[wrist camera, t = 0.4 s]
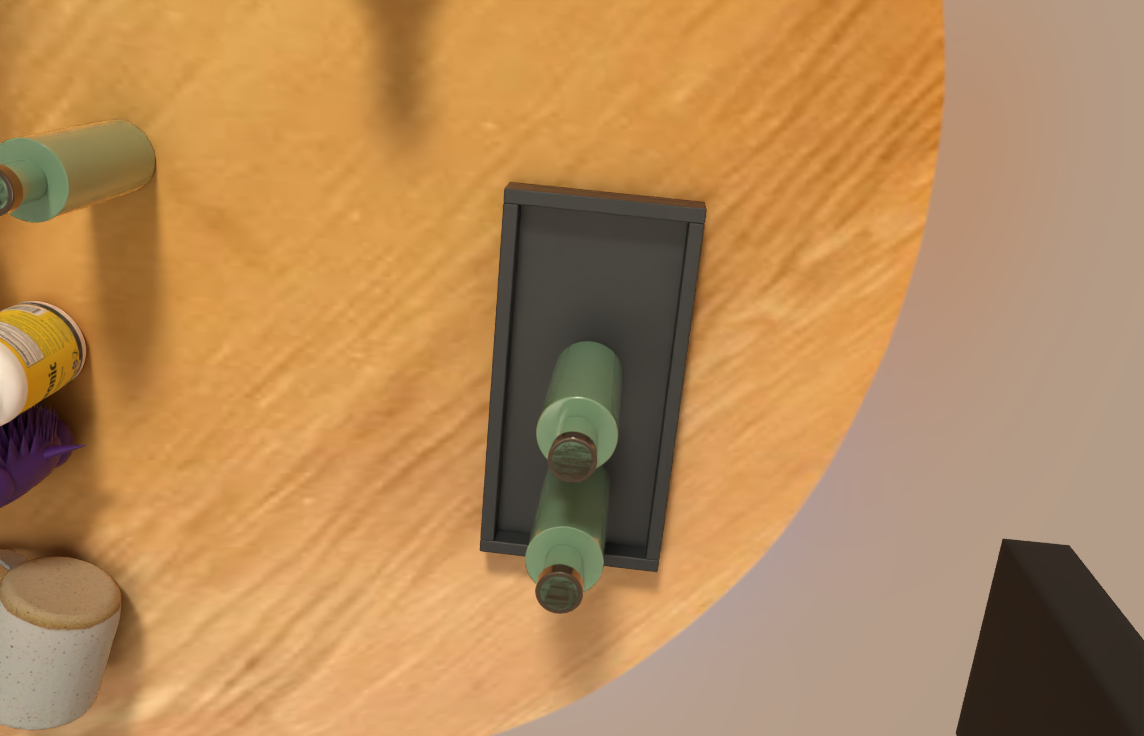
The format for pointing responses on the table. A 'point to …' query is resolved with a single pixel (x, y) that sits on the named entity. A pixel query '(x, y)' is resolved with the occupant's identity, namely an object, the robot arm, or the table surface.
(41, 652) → the ceramic mug
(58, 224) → the table surface
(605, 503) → the tray bottle
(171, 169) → the table surface
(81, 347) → the supplement bottle
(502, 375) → the tray
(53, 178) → the loose bottle
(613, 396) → the tray bottle
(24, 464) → the creature
